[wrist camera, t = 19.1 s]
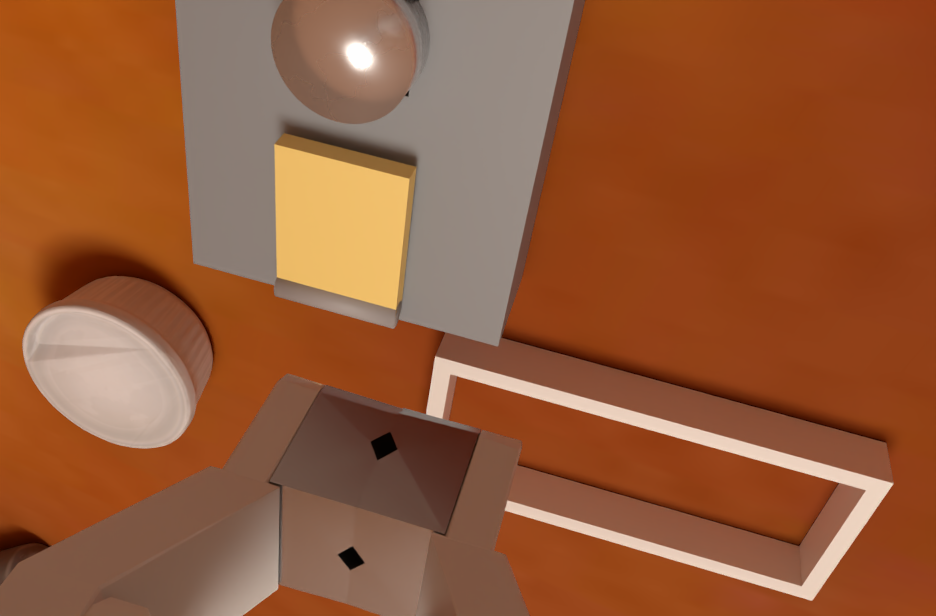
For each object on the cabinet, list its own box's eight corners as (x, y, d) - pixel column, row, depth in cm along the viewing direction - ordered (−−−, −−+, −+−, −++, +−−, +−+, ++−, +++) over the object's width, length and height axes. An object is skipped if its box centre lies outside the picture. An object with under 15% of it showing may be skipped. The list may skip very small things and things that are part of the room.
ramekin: (114, 226, 53) (62, 276, 49) (260, 344, 56) (222, 399, 52) (45, 317, 59) (-6, 367, 55) (179, 418, 62) (140, 473, 58)
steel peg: (475, -65, 37) (419, -2, 31) (458, 59, 41) (404, 138, 34) (351, -93, 38) (270, -37, 31) (344, 32, 41) (270, 105, 35)
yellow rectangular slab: (416, 166, 37) (406, 183, 36) (400, 316, 43) (391, 334, 42) (284, 132, 38) (271, 148, 37) (285, 284, 44) (274, 302, 43)
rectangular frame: (886, 442, 48) (893, 483, 46) (809, 560, 55) (811, 600, 53) (449, 323, 51) (435, 356, 48) (427, 450, 57) (414, 483, 55)
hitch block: (611, -119, 35) (592, -82, 30) (521, 277, 47) (498, 346, 43) (236, -200, 36) (162, -176, 32) (245, 204, 49) (193, 263, 44)
